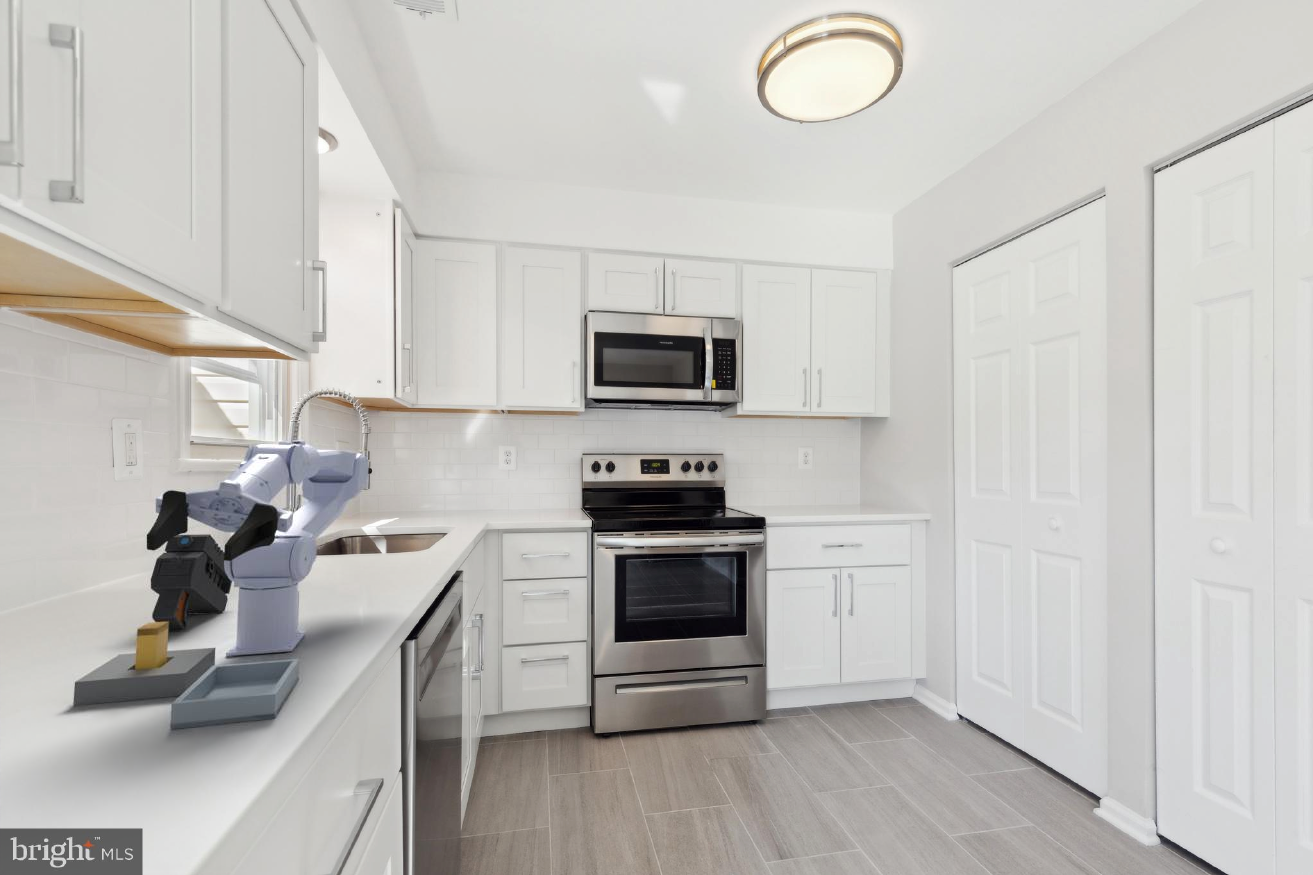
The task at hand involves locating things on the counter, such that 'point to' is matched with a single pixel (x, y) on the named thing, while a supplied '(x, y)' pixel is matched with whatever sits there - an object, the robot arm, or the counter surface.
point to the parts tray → (236, 694)
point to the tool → (189, 580)
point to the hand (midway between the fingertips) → (189, 548)
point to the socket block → (143, 677)
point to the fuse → (152, 645)
